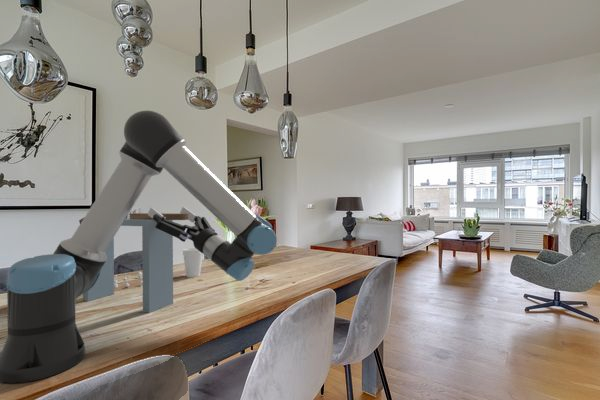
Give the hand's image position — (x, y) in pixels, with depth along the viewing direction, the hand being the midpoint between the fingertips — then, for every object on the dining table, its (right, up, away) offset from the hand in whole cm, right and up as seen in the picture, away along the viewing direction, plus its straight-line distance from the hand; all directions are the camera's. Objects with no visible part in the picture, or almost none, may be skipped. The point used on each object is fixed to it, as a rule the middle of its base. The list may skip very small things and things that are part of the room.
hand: (166, 210), depth 106 cm
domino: (-30, -1, +13) cm, 33 cm away
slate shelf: (-18, -33, +8) cm, 39 cm away
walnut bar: (-4, -3, +2) cm, 5 cm away
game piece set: (-30, -34, +36) cm, 58 cm away
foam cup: (-7, -34, +48) cm, 59 cm away
